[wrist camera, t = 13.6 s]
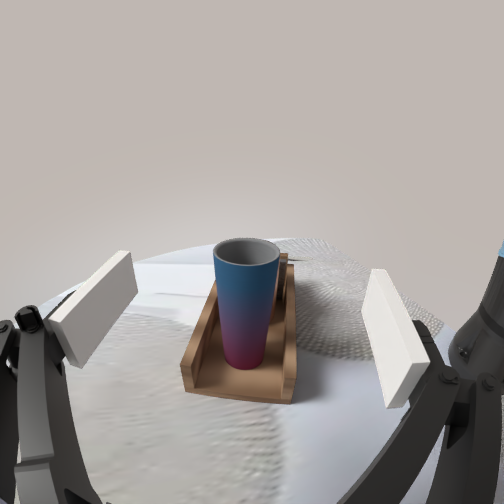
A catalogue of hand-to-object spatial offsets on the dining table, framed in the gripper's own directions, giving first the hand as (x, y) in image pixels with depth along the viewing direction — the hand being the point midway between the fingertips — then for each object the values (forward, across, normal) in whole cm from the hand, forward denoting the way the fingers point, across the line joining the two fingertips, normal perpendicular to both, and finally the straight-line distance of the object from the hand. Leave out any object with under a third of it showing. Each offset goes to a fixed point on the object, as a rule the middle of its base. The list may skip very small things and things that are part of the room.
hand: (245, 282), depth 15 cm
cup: (+13, -2, -20) cm, 24 cm away
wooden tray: (+20, -2, -21) cm, 29 cm away
